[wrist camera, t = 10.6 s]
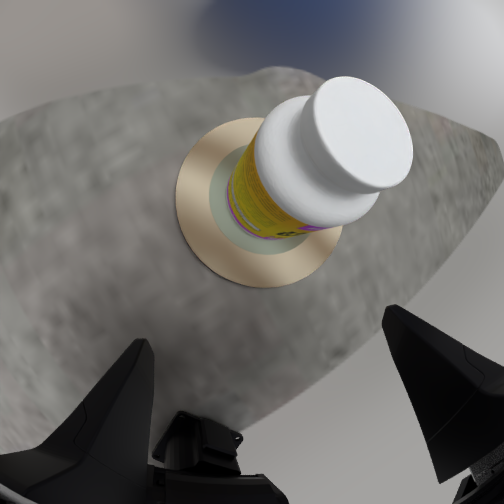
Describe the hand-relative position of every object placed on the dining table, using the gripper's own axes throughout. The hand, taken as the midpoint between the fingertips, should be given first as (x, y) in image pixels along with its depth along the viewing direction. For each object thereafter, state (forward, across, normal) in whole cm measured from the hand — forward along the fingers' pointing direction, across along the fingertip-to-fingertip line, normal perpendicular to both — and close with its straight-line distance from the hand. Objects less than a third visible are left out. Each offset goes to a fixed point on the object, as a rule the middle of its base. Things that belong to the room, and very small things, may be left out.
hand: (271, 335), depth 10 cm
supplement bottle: (+14, -2, 0) cm, 14 cm away
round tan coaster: (+15, -2, 0) cm, 15 cm away
